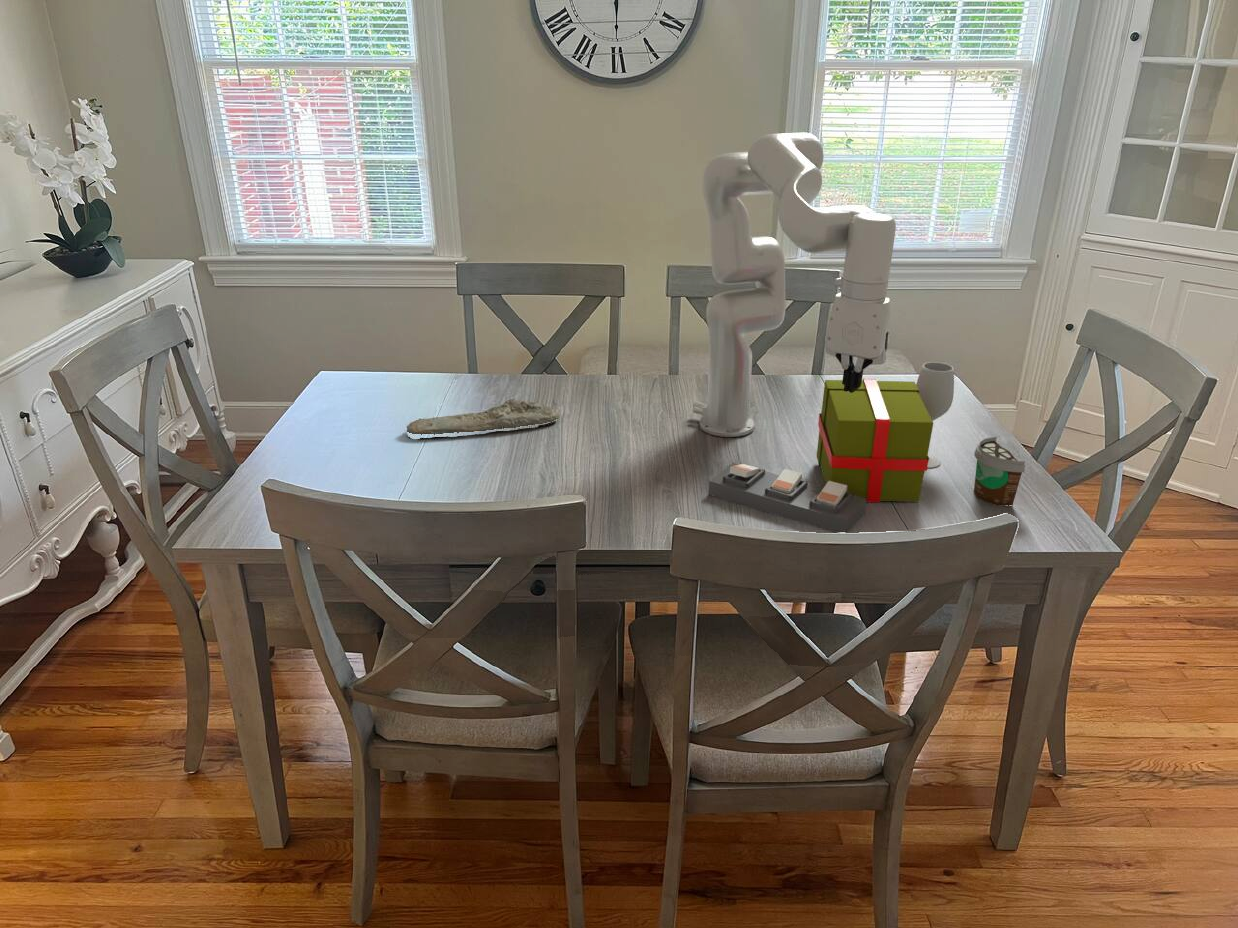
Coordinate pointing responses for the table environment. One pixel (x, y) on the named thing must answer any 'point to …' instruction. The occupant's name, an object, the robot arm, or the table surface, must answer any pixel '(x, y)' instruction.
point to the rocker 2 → (787, 481)
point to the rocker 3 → (832, 493)
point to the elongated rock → (487, 419)
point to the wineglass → (936, 393)
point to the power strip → (788, 500)
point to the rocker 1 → (744, 470)
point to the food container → (996, 473)
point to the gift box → (875, 439)
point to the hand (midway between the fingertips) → (850, 389)
